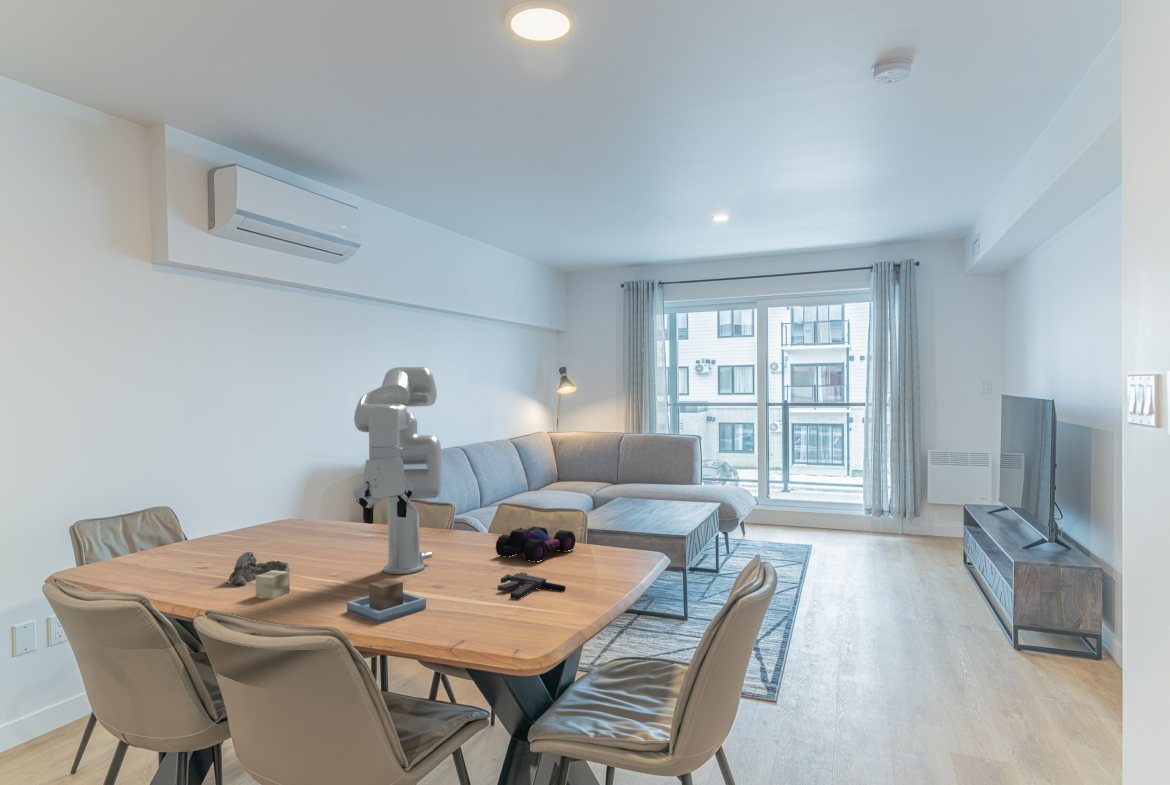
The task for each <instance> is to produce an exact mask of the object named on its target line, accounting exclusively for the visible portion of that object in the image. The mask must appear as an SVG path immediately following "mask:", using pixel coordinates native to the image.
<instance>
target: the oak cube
mask: <svg viewBox="0 0 1170 785" xmlns="http://www.w3.org/2000/svg"><path fill="white" fill-rule="evenodd" d="M290 582H291V581H290V571H289V572H285V571H275V570H272V571H269V572H266V573H263V574H260V575H257V576H256V581H255V598H256V597H262V598H261V599H265V598H270V599H269V600H275V599H277V598H276V597H278V598H280V597H283V596H285V595H284V594H286V595H288V594H290V593H289V592H291V591H290V590H291V589H290V588H291V587H290ZM287 593H288V594H287ZM282 595H283V596H282ZM279 596H280V597H279ZM274 598H275V599H274Z"/></svg>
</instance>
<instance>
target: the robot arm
mask: <svg viewBox="0 0 1170 785" xmlns="http://www.w3.org/2000/svg"><path fill="white" fill-rule="evenodd" d="M434 378H435V377H434V375H433V373H432V371H431V370H430V369H428V368H427V367H423V366H400V367H399V366H398V367H393V368H390V369H389V370H387V372H386V373H385V374H384V376H383V381H382V383H381V386H379V387H377V388H376V389H374V390H371V391H369V392H367V393H365V394H364V395H362V396H361V397H360V398H359V400H358V402H357V404H356V408H355V410H354V417H353V422H354V426H355V429H357V431H359V432H361V433H368V446H369V447H368V459H366V460H365V464H364V468H363V476H362V485H360V486H359V487H358V488H356V489H354V490H353V491H352V494H353V496H354V498H355V500H356V503H358V504H359V505H360V507H361V508H362V517H363V522H364V523H365V524H368V525H372V524H373V523H374V508H373V507H372V506H373V504H374V502H375V501H376V500H383V499H386V506H387V507H386V508H387V542H388V543H387V552H388V553H387V554H388V555H387V556H388V563H387V564H385V565H383V567H382V569H383V572H384V573H386V574H390V575H405V574H407V575H408V574H413V573H416V572H420V571H423V569H424V568H425V565H426V564H425V562H424V561H425V560H428V559H432V557H433V553H432V552H431V551H428V552H420V513H419V511H418V508H417V507H416V505H414V504H413V502H412V500H423V499H424V500H426V499H428V500H429V499H435V498H437V497H439V495H440V494H441V491H442V447H441V442H440V440H439V438H438V437H437V436H435V435H429V434H428V435H420V434H418V420H417V418H416V416H415V415H414V414H413V413H412V411H411V410H409V408H410V407H412V408H413V407H415V408H416V407H431V406H433V405H434V404H435V403H436V401H437V397H438V396H437V395H438V394H437V387H436V383H435V379H434ZM408 407H409V408H408ZM405 466H425V467H426V468H405ZM363 497H364V498H363Z"/></svg>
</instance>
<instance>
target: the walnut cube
mask: <svg viewBox="0 0 1170 785" xmlns="http://www.w3.org/2000/svg"><path fill="white" fill-rule="evenodd" d="M403 592H404V582H403V581H401V580H397V579H394V578H390V577H389V578H385V579H382V580H376V581H373V582H370V583H368V596H369V607H371V608H373V609H376V610H379V611H382V610H385V609H388V608H392V607H395V606H398V605H402V604H403Z"/></svg>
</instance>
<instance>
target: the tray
mask: <svg viewBox="0 0 1170 785" xmlns="http://www.w3.org/2000/svg"><path fill="white" fill-rule="evenodd" d="M425 609H427V598H425V597H422V596H419V595H415V594H412V593H410V592H406V591H403V604H402V605H398V606H395V607H392V608H388V609H385V610H382V611H379V610H376V609H373V608H371V607H369V595H368V596H365V597H361V598H356V599H353V600H350V601H349V600H348V601H347V602H346V613H349V614H350V615H351V614H352V615H353V616H356V617H360V618H362V619H364V620H368V621H370V622H373V623H376V624H381V623H385V622H387V621H388V622H389V621H391V620H393V619H397V618H400V617H403V616H405V615H406V616H407V615H409V614H412V613H415V612H419V611H423V610H425Z"/></svg>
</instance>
